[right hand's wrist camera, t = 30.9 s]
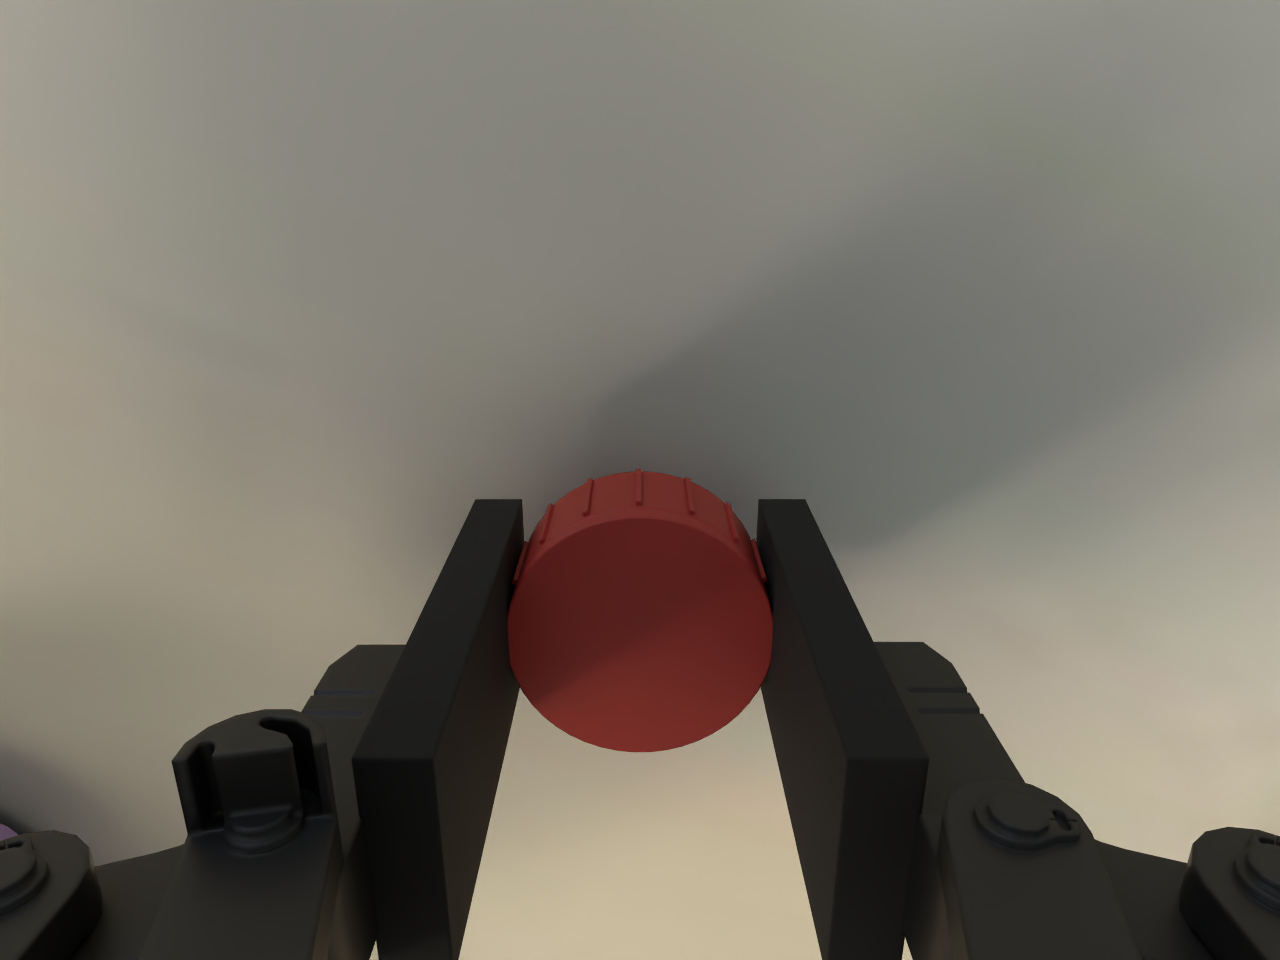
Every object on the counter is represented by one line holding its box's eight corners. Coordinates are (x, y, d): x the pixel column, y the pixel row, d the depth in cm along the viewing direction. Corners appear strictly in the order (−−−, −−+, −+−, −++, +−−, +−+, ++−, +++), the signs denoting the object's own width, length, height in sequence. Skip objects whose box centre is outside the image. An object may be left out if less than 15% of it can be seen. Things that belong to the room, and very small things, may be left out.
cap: (538, 448, 14) (523, 491, 12) (785, 491, 14) (807, 541, 12) (505, 664, 15) (486, 732, 13) (730, 700, 15) (743, 772, 14)
